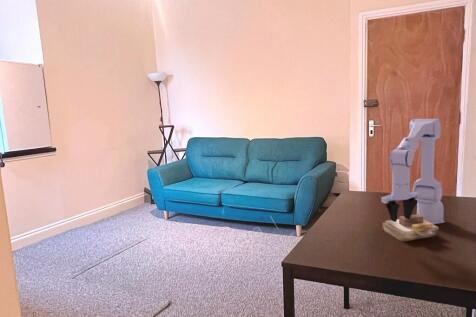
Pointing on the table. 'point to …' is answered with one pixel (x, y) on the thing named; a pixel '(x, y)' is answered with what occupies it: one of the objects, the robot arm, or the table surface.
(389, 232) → the wooden tray
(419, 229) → the light wooden bar
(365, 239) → the table surface
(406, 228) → the lid
